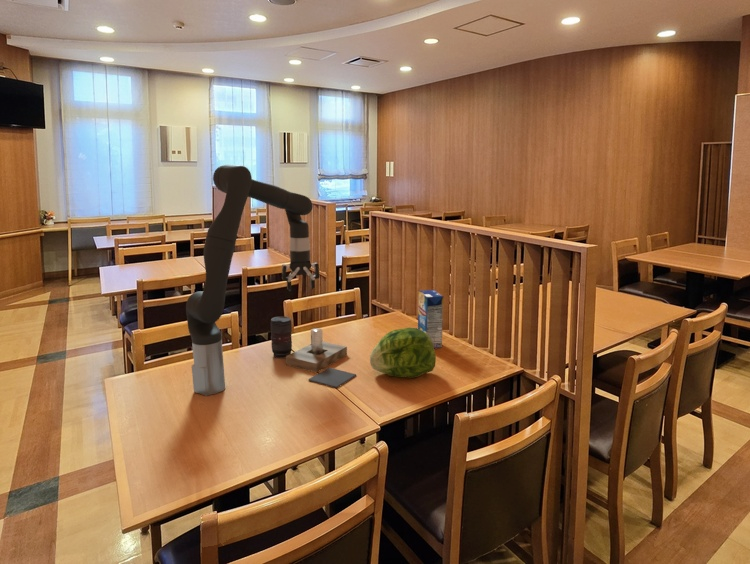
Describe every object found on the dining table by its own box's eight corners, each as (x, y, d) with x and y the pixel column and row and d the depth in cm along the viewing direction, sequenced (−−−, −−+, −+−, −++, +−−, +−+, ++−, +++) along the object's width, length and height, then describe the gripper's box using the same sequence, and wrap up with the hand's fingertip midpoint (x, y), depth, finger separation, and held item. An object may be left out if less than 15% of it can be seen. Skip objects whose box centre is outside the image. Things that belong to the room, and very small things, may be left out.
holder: (316, 372, 180) (315, 363, 179) (286, 364, 187) (285, 356, 186) (346, 354, 197) (346, 346, 196) (318, 348, 204) (318, 340, 203)
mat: (336, 388, 167) (336, 386, 167) (308, 380, 173) (308, 379, 173) (356, 375, 177) (356, 374, 177) (328, 368, 183) (328, 367, 183)
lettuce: (366, 342, 187) (363, 328, 170) (427, 330, 188) (429, 315, 171) (375, 389, 181) (372, 380, 164) (438, 377, 181) (442, 367, 164)
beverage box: (426, 349, 203) (427, 297, 198) (417, 340, 213) (418, 290, 208) (441, 347, 204) (443, 296, 199) (432, 339, 215) (433, 289, 210)
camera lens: (290, 358, 193) (289, 322, 189) (269, 358, 193) (268, 321, 189) (294, 351, 200) (293, 315, 197) (274, 351, 201) (272, 315, 197)
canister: (318, 362, 189) (317, 332, 186) (309, 360, 191) (308, 330, 188) (325, 359, 192) (324, 329, 190) (316, 356, 195) (315, 327, 192)
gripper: (282, 251, 184) (284, 293, 187) (320, 249, 188) (321, 290, 192) (279, 248, 191) (281, 289, 194) (315, 246, 195) (316, 286, 199)
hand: (301, 290), depth 193 cm, fingers open, 8 cm apart
